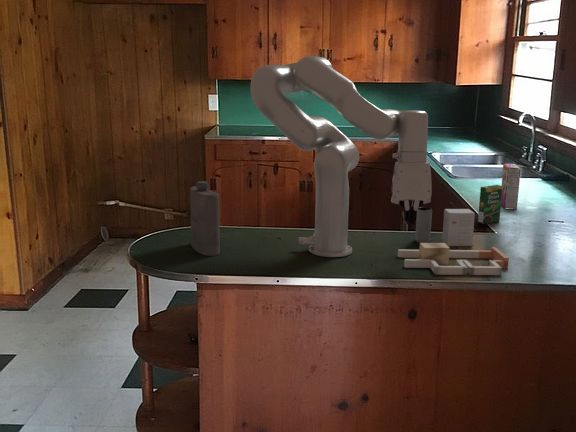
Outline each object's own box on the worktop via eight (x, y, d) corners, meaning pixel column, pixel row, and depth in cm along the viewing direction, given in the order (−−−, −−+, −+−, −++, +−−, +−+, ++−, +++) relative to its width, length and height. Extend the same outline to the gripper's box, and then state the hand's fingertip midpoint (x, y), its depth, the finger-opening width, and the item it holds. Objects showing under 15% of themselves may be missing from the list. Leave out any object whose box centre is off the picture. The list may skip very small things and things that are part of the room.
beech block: (423, 265, 170) (424, 247, 168) (418, 259, 174) (419, 242, 173) (448, 265, 170) (449, 247, 169) (443, 259, 175) (444, 242, 174)
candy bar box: (498, 203, 251) (502, 163, 247) (511, 203, 250) (515, 163, 246) (503, 209, 240) (507, 167, 236) (517, 209, 239) (521, 168, 235)
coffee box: (482, 224, 216) (486, 187, 213) (476, 222, 218) (480, 186, 215) (499, 222, 219) (503, 185, 216) (493, 220, 222) (497, 184, 219)
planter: (417, 238, 197) (420, 206, 194) (431, 240, 194) (434, 208, 192) (413, 241, 193) (415, 209, 190) (427, 243, 190) (429, 210, 188)
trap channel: (409, 274, 161) (410, 263, 161) (397, 256, 177) (398, 246, 176) (515, 275, 162) (516, 264, 161) (494, 257, 178) (495, 247, 177)
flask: (186, 243, 186) (185, 178, 181) (205, 241, 188) (204, 177, 184) (202, 257, 173) (201, 187, 168) (222, 255, 175) (221, 185, 171)
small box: (466, 241, 194) (469, 208, 191) (472, 246, 188) (475, 212, 186) (441, 241, 193) (444, 208, 191) (446, 246, 188) (449, 212, 186)
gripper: (386, 159, 161) (385, 227, 165) (443, 158, 161) (440, 226, 166) (382, 155, 169) (380, 221, 173) (436, 155, 169) (433, 220, 173)
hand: (410, 223), depth 169 cm, fingers closed
